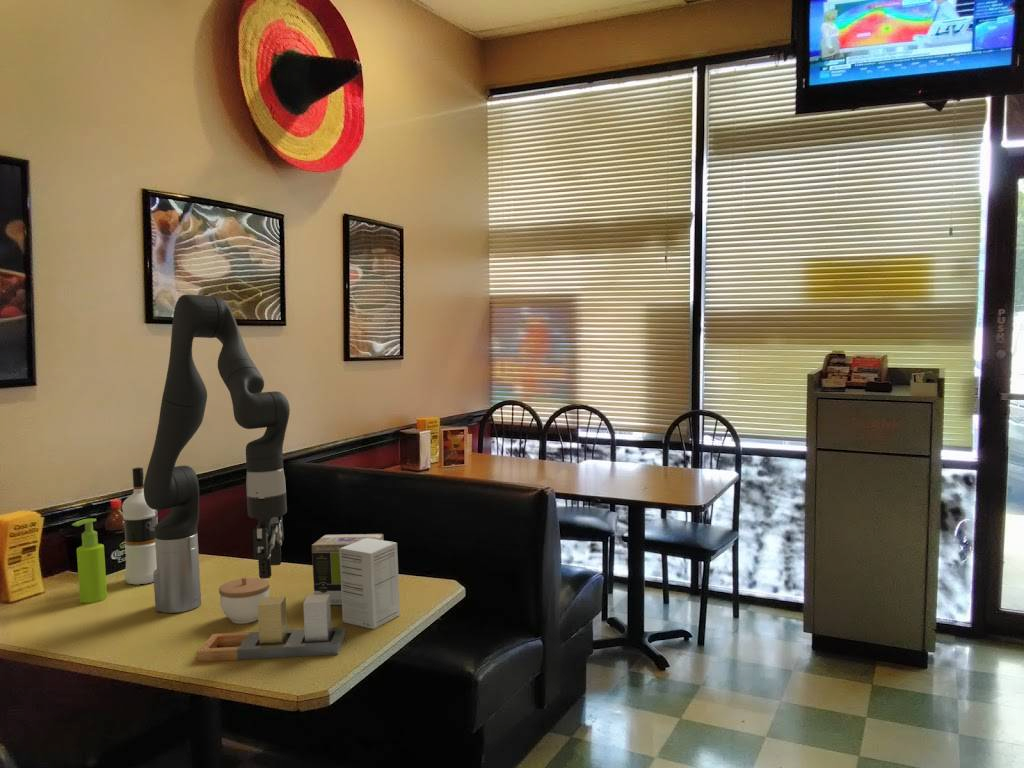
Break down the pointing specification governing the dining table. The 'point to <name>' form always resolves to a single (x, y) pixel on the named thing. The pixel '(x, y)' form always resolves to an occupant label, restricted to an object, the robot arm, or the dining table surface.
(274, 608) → the beige rectangular block
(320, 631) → the gray square beam
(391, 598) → the supplement box
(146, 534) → the vodka
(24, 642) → the dining table surface
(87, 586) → the soap dispenser
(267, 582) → the lidded jar
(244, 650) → the grey flat frame
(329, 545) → the tea box
